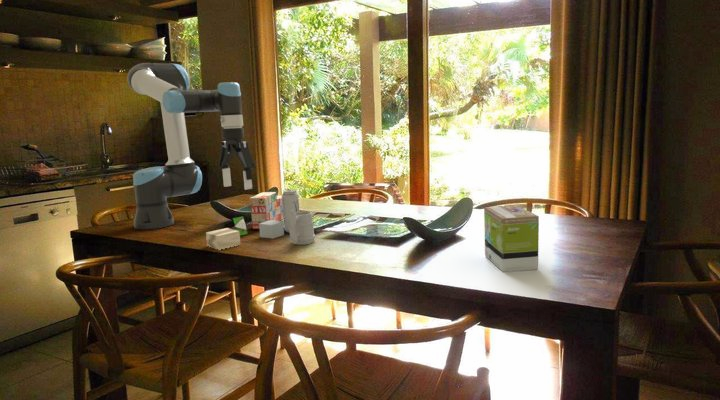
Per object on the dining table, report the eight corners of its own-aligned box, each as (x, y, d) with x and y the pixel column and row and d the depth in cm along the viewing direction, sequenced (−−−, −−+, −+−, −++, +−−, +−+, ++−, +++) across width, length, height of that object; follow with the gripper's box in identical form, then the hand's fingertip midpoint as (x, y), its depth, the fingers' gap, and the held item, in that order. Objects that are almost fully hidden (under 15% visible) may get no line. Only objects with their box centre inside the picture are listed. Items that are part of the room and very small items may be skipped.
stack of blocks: (272, 217, 217) (270, 188, 215) (286, 217, 216) (284, 188, 214) (252, 229, 197) (249, 197, 194) (267, 229, 195) (265, 197, 193)
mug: (319, 239, 176) (317, 205, 174) (302, 248, 165) (299, 212, 163) (300, 238, 179) (297, 204, 177) (281, 247, 168) (279, 211, 166)
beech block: (207, 247, 174) (205, 232, 173) (228, 241, 179) (226, 227, 178) (219, 250, 168) (217, 236, 167) (240, 245, 174) (239, 231, 173)
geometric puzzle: (225, 228, 189) (230, 213, 185) (241, 225, 194) (246, 209, 189) (234, 242, 186) (239, 227, 181) (250, 238, 190) (256, 223, 186)
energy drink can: (296, 233, 187) (293, 192, 184) (281, 232, 188) (278, 192, 186) (303, 229, 192) (300, 189, 189) (289, 228, 194) (286, 189, 191)
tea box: (483, 256, 148) (483, 206, 146) (517, 254, 149) (517, 204, 147) (501, 273, 134) (502, 217, 131) (539, 270, 134) (540, 214, 132)
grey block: (260, 237, 183) (259, 223, 182) (271, 233, 188) (270, 220, 187) (273, 239, 180) (272, 225, 179) (284, 235, 185) (283, 221, 184)
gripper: (204, 128, 187) (210, 186, 191) (243, 128, 169) (248, 191, 173) (223, 127, 192) (228, 183, 196) (262, 126, 175) (267, 188, 178)
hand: (237, 187), depth 185 cm, fingers open, 13 cm apart
